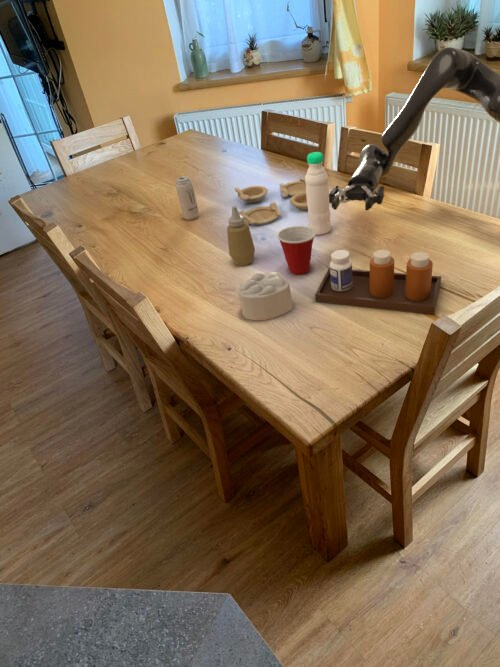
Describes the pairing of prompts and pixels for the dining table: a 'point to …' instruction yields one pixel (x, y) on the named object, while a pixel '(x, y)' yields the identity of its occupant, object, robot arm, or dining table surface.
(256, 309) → the lumpy-topped squat cylinder
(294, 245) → the plastic cup
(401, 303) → the tray
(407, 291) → the amber bottle
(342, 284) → the pill bottle
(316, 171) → the water bottle
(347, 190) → the robot arm
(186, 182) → the energy drink can
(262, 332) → the dining table surface
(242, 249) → the squeeze bottle
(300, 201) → the tableware set
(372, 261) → the amber bottle
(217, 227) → the dining table surface
